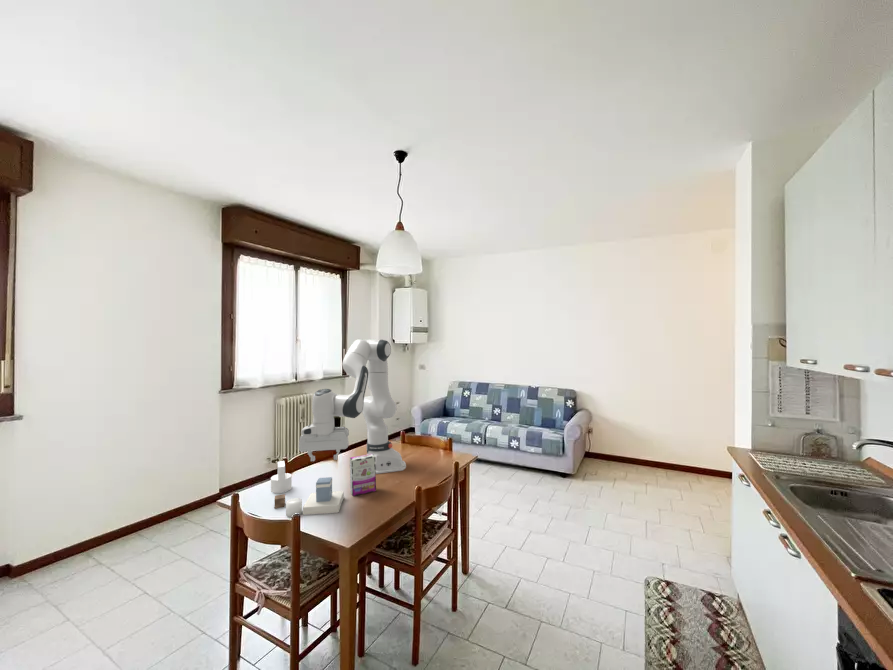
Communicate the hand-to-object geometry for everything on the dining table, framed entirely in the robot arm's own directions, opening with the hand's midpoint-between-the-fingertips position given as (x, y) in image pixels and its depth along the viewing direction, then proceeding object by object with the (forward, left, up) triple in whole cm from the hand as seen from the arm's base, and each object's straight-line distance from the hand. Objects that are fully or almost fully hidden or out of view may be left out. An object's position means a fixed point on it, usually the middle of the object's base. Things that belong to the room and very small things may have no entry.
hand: (324, 460), depth 155 cm
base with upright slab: (+24, -21, -20) cm, 38 cm away
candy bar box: (-15, -12, -20) cm, 27 cm away
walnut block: (+19, -3, -20) cm, 28 cm away
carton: (0, 0, -16) cm, 16 cm away
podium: (0, 0, -19) cm, 19 cm away
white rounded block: (+11, +5, -20) cm, 23 cm away
